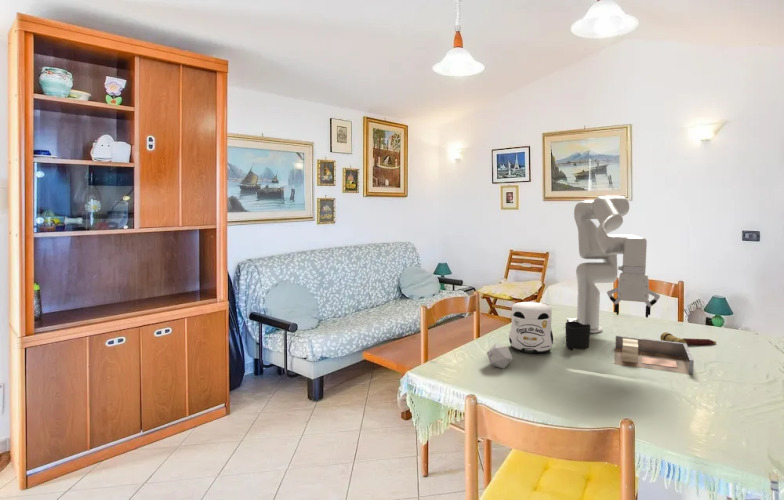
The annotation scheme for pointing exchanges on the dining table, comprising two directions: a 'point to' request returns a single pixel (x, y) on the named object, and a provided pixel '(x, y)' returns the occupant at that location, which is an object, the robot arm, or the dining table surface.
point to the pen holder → (577, 335)
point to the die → (499, 356)
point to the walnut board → (654, 361)
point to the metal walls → (661, 349)
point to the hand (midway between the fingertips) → (631, 315)
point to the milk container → (531, 327)
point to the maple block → (630, 350)
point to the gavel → (686, 340)
